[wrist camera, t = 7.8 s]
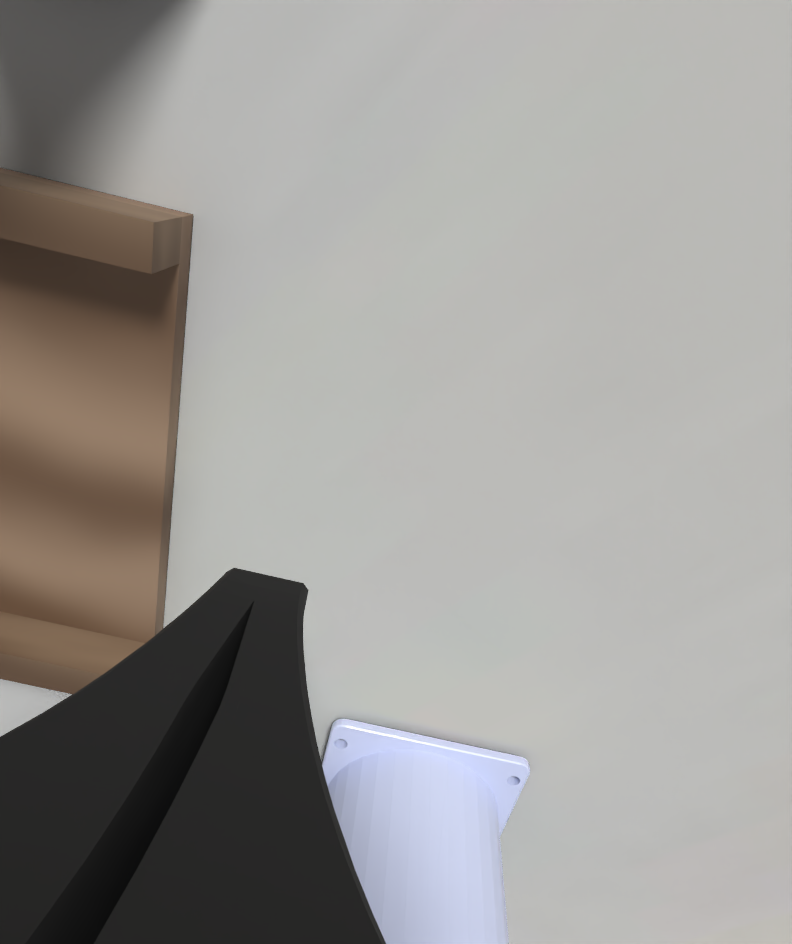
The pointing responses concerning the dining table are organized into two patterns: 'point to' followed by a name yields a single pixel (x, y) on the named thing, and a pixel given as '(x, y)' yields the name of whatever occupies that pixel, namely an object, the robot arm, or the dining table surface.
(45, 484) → the bay
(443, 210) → the dining table surface
